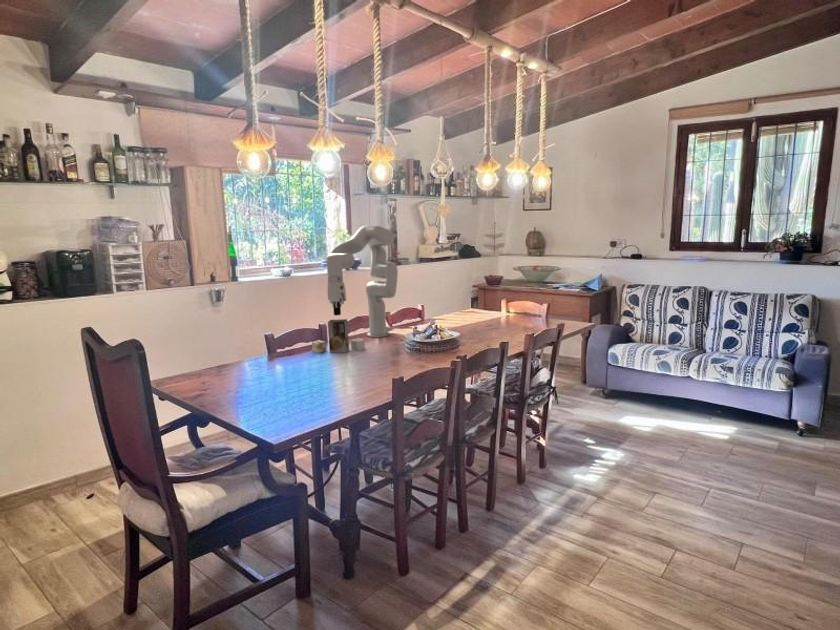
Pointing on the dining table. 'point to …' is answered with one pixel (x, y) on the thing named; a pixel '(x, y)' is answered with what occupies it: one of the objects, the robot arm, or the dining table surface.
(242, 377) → the dining table surface
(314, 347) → the birch block marked
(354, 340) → the grey block marked
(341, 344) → the coffee box
